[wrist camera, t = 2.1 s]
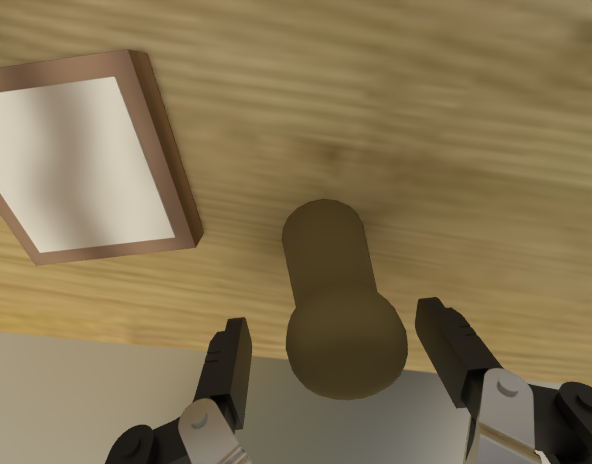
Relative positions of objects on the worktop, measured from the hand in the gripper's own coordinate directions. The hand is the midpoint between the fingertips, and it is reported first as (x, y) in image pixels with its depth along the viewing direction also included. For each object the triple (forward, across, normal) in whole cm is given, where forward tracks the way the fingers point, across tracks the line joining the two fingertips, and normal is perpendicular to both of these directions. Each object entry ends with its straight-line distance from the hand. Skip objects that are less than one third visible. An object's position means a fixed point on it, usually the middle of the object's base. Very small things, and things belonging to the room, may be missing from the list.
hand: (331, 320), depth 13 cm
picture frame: (+9, +14, -6) cm, 17 cm away
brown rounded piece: (+8, -1, 0) cm, 9 cm away
